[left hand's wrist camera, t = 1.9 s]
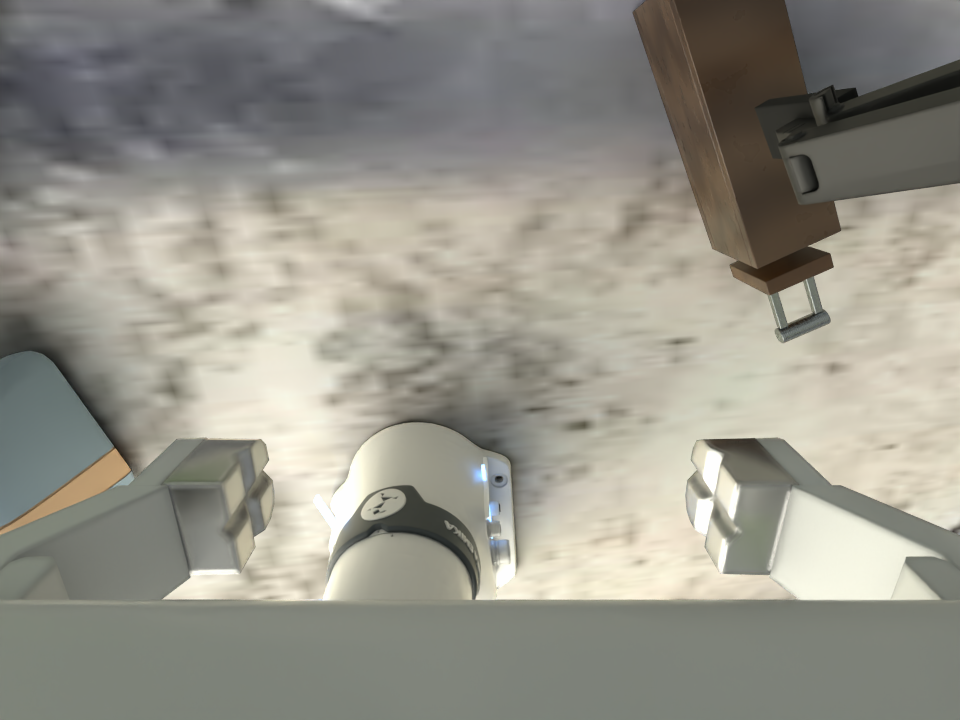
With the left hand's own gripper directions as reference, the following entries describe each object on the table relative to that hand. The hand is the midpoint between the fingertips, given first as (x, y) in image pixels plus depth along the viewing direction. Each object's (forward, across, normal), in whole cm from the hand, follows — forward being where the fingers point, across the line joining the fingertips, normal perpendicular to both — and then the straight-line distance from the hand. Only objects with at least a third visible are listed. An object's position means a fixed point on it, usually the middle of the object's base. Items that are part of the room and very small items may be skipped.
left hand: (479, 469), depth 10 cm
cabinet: (+38, +18, +8) cm, 42 cm away
